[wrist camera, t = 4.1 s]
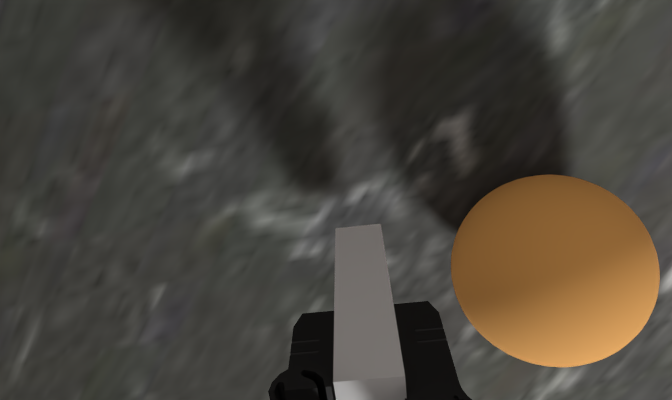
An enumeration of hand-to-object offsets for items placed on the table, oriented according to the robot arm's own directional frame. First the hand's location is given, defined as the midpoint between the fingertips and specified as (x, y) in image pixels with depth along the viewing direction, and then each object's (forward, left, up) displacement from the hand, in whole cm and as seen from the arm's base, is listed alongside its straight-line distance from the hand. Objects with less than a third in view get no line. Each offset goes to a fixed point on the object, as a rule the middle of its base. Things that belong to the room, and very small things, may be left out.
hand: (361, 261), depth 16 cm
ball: (+6, 0, +1) cm, 6 cm away
